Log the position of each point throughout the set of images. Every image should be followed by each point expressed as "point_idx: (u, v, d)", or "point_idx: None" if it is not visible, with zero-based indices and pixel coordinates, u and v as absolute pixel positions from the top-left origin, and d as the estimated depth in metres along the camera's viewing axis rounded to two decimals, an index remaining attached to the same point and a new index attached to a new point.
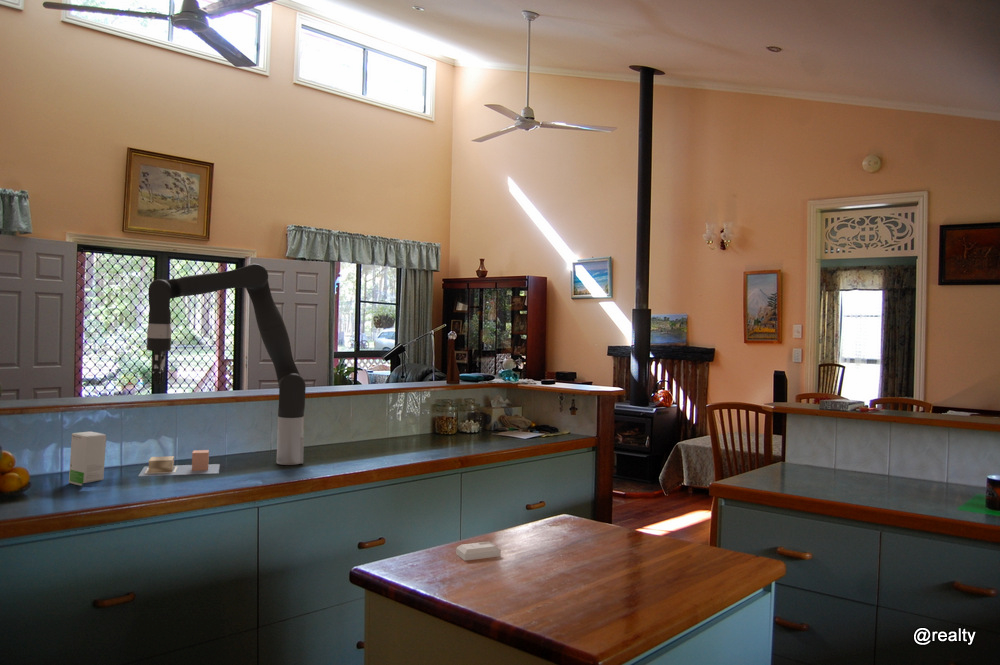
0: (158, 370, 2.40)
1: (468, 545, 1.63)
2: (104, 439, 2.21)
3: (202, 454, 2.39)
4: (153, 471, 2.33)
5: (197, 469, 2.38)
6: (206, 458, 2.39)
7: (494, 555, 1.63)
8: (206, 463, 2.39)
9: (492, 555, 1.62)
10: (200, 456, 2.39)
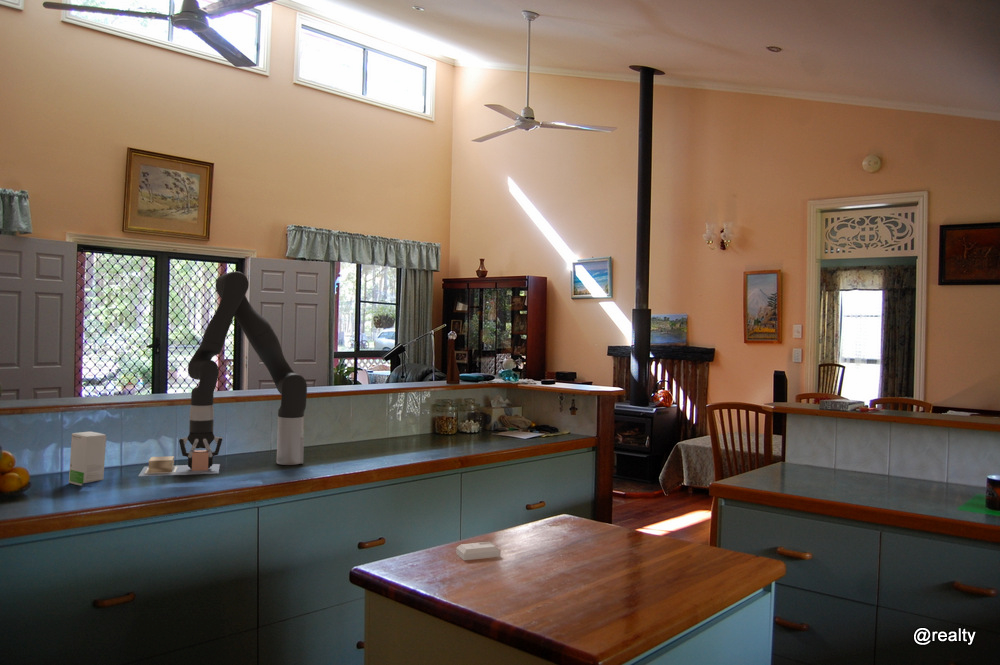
0: None
1: (468, 545, 1.63)
2: (104, 439, 2.21)
3: (202, 454, 2.39)
4: (153, 471, 2.33)
5: (197, 469, 2.38)
6: (206, 458, 2.39)
7: (494, 555, 1.62)
8: (206, 463, 2.39)
9: (492, 555, 1.62)
10: (200, 456, 2.39)
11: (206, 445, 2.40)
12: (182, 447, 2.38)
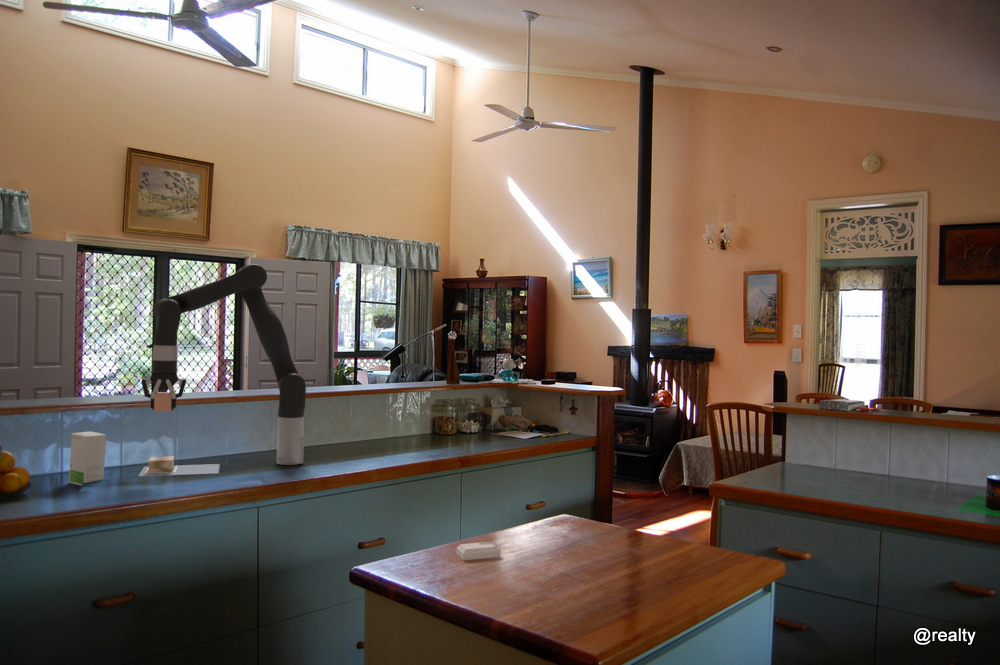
0: (181, 394, 2.39)
1: (468, 545, 1.63)
2: (104, 439, 2.21)
3: (165, 395, 2.35)
4: (153, 471, 2.33)
5: (159, 410, 2.34)
6: (169, 399, 2.35)
7: (494, 555, 1.62)
8: (169, 404, 2.35)
9: (491, 555, 1.62)
10: (162, 397, 2.34)
11: (169, 386, 2.36)
12: (144, 388, 2.34)
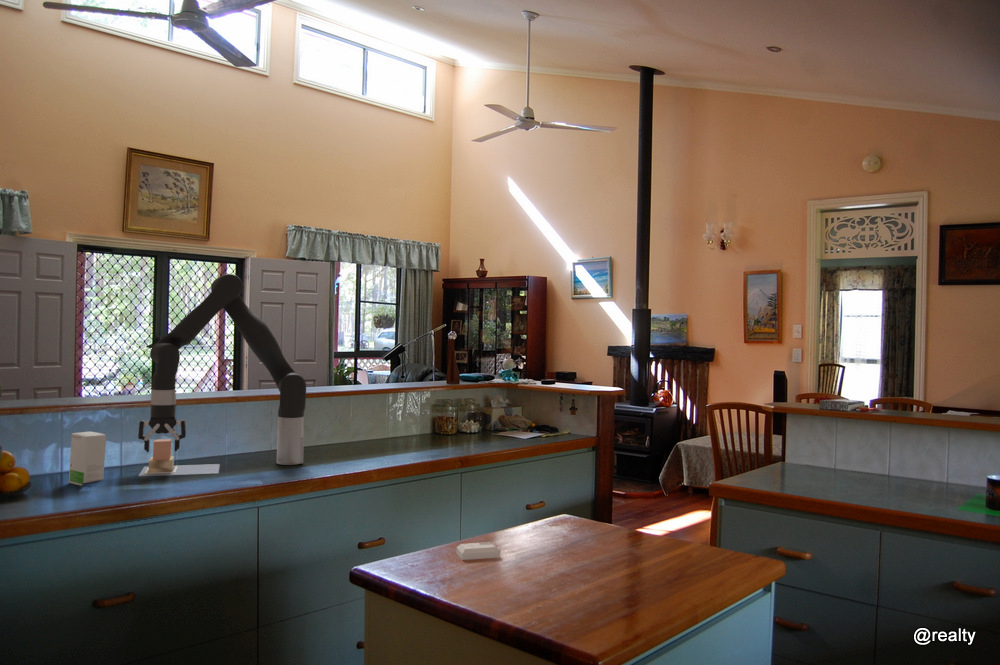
0: (185, 435, 2.40)
1: (468, 545, 1.63)
2: (104, 439, 2.21)
3: (164, 443, 2.35)
4: (153, 471, 2.33)
5: (158, 458, 2.34)
6: (168, 447, 2.35)
7: (493, 555, 1.62)
8: (168, 452, 2.35)
9: (491, 556, 1.62)
10: (161, 445, 2.34)
11: (169, 429, 2.36)
12: (140, 429, 2.33)
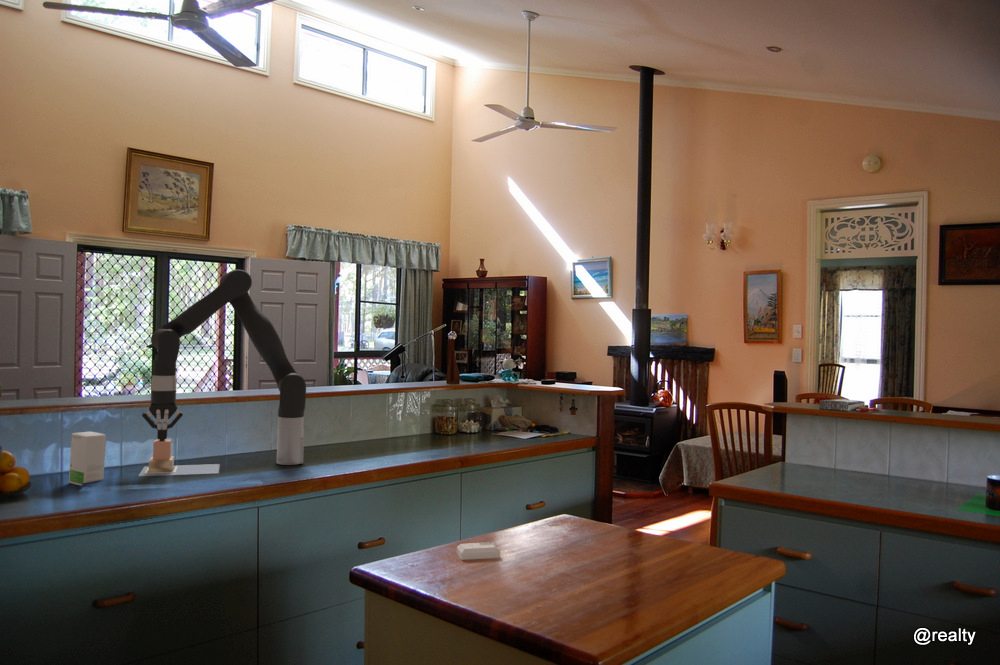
0: None
1: (468, 545, 1.63)
2: (104, 439, 2.21)
3: (164, 443, 2.35)
4: (153, 471, 2.33)
5: (158, 458, 2.34)
6: (168, 447, 2.35)
7: (493, 556, 1.62)
8: (168, 452, 2.35)
9: (491, 556, 1.62)
10: (161, 445, 2.34)
11: (165, 416, 2.36)
12: (148, 420, 2.34)
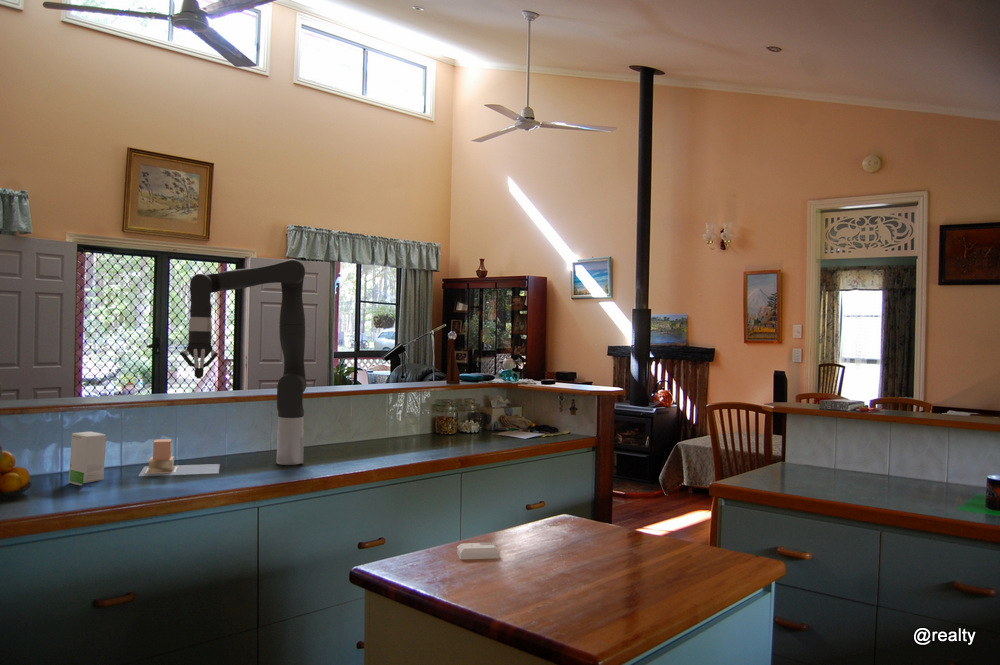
0: None
1: (468, 544, 1.63)
2: (104, 439, 2.21)
3: (164, 443, 2.35)
4: (153, 471, 2.33)
5: (158, 458, 2.34)
6: (168, 447, 2.35)
7: (493, 556, 1.62)
8: (168, 452, 2.35)
9: (490, 556, 1.61)
10: (161, 445, 2.34)
11: (202, 355, 2.52)
12: (186, 359, 2.51)
